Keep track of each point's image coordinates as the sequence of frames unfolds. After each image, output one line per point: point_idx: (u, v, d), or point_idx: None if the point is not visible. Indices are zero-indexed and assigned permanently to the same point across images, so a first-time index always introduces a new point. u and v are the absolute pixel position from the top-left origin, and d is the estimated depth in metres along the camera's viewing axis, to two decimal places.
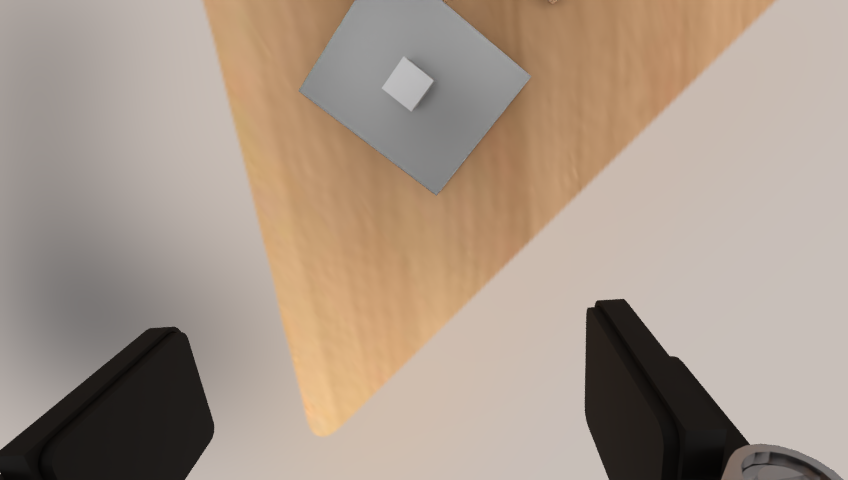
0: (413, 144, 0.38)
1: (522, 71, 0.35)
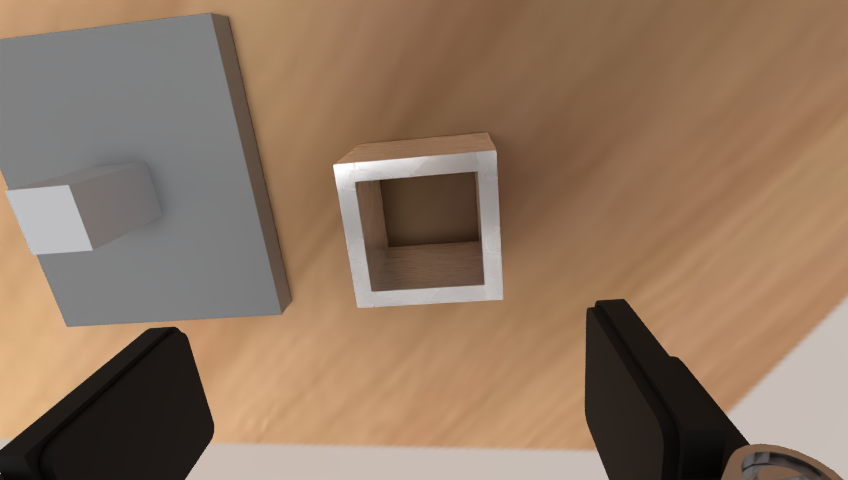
0: (77, 253, 0.23)
1: (275, 301, 0.23)
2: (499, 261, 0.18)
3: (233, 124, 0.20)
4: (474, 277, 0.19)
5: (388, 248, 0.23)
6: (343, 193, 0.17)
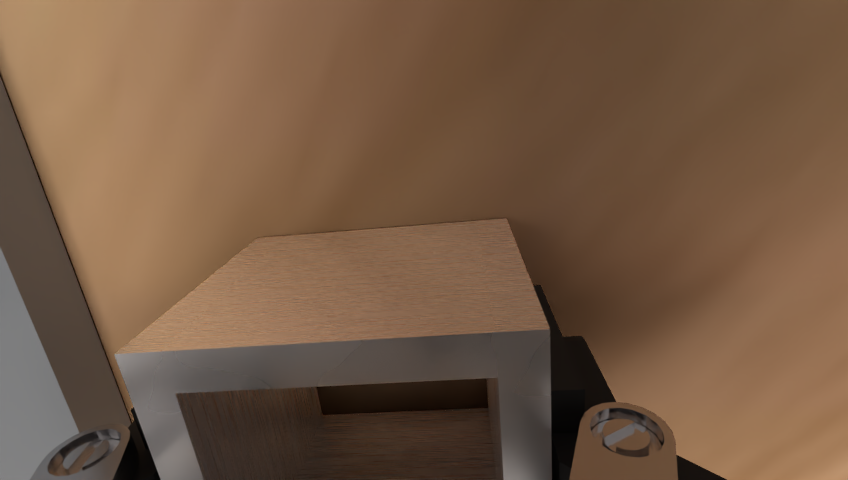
0: None
1: None
2: None
3: None
4: None
5: (321, 420, 0.13)
6: (152, 417, 0.07)
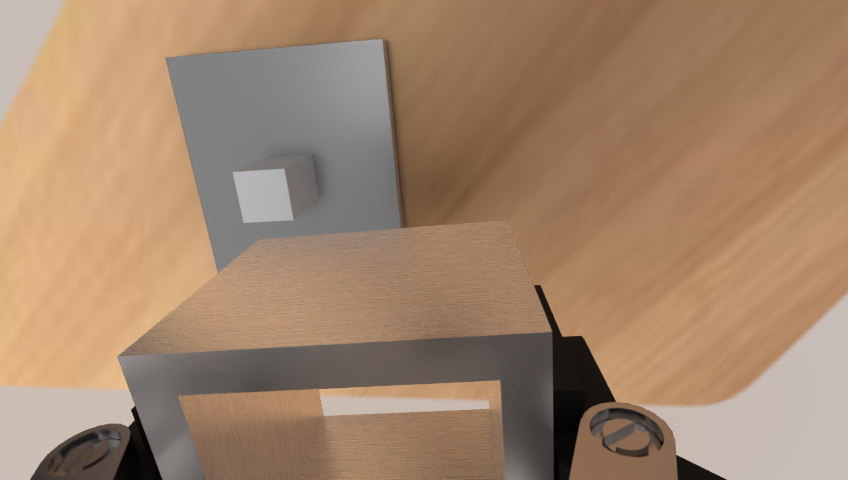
0: (242, 227, 0.28)
1: None
2: None
3: (388, 125, 0.25)
4: None
5: (322, 421, 0.13)
6: (154, 419, 0.07)
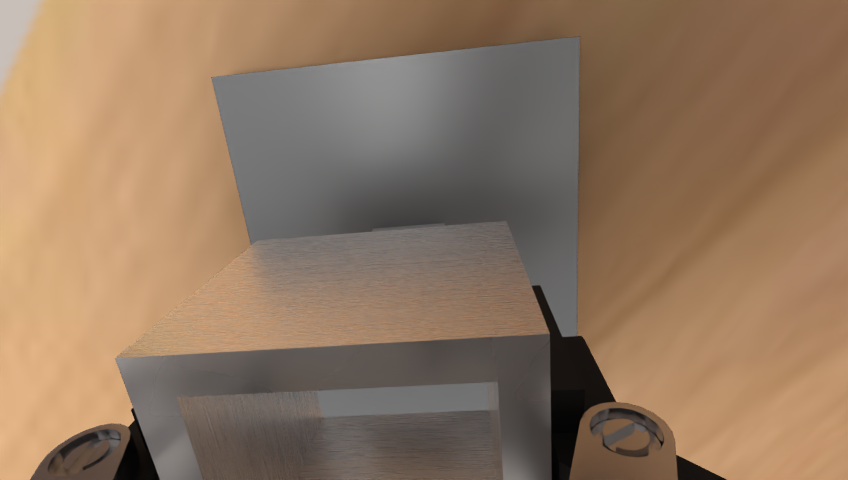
0: None
1: None
2: None
3: (573, 177, 0.16)
4: None
5: (321, 422, 0.13)
6: (152, 421, 0.07)
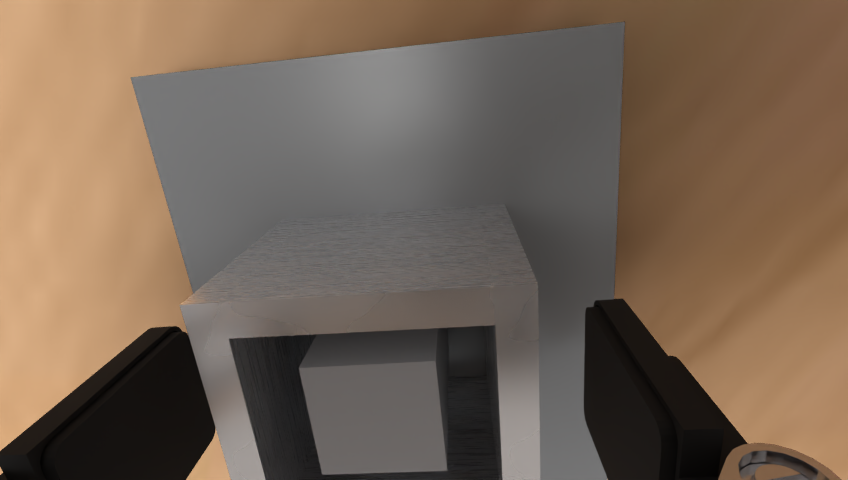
0: None
1: (602, 473, 0.15)
2: None
3: (611, 209, 0.12)
4: None
5: None
6: (207, 360, 0.08)
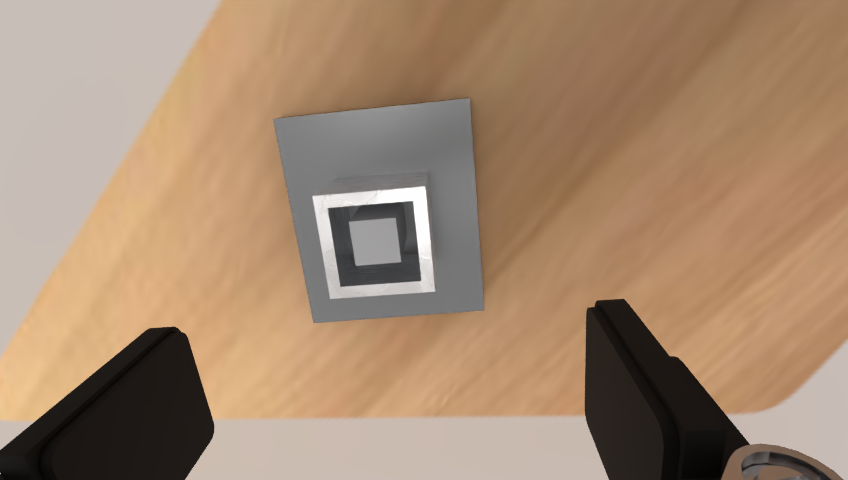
0: None
1: (481, 300, 0.31)
2: (431, 264, 0.25)
3: (472, 172, 0.29)
4: (415, 276, 0.26)
5: None
6: (319, 216, 0.25)
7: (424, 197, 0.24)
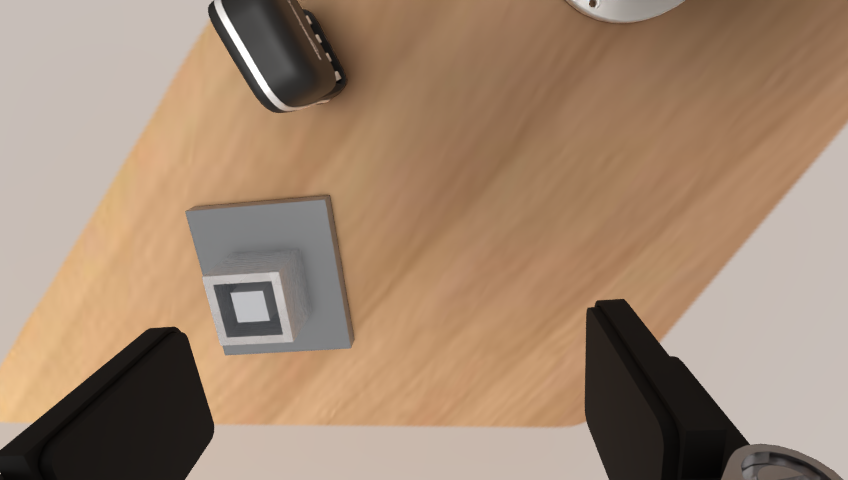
0: None
1: (348, 341, 0.42)
2: (288, 323, 0.36)
3: (332, 250, 0.39)
4: (281, 329, 0.37)
5: None
6: (208, 289, 0.35)
7: (279, 279, 0.34)
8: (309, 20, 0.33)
